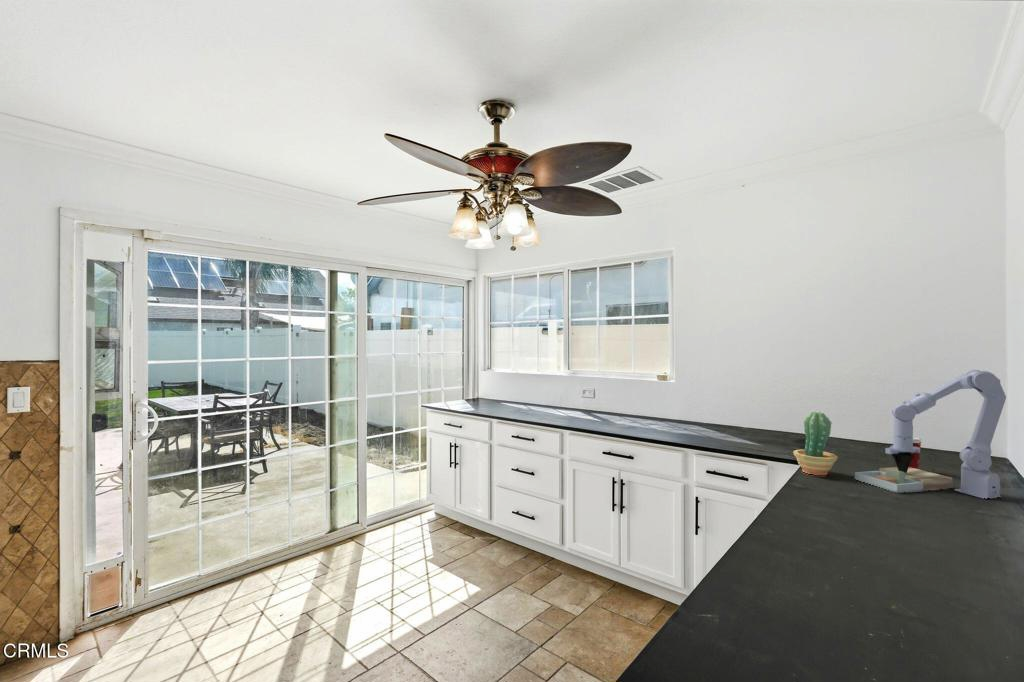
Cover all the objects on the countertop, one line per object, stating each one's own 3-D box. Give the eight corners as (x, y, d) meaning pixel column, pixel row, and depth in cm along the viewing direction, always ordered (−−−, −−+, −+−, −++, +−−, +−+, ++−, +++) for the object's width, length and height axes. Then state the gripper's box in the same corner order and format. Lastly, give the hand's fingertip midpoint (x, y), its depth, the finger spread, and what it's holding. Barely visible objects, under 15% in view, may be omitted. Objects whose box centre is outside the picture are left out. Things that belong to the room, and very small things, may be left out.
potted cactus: (847, 479, 183) (847, 415, 183) (807, 478, 183) (808, 415, 183) (821, 468, 199) (822, 409, 199) (785, 467, 199) (785, 409, 199)
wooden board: (952, 488, 172) (952, 477, 172) (923, 491, 169) (923, 480, 169) (906, 476, 188) (906, 466, 188) (879, 478, 185) (879, 468, 185)
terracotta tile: (886, 479, 172) (886, 486, 172) (897, 479, 173) (897, 485, 173) (873, 475, 177) (873, 482, 177) (883, 475, 178) (883, 481, 178)
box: (923, 491, 169) (923, 482, 169) (897, 493, 166) (897, 484, 166) (879, 478, 185) (879, 470, 185) (854, 480, 182) (854, 472, 182)
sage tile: (904, 472, 174) (899, 472, 173) (904, 485, 174) (899, 485, 173) (890, 468, 179) (885, 468, 178) (890, 481, 179) (885, 481, 178)
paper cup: (926, 473, 192) (927, 439, 192) (907, 473, 192) (908, 439, 192) (910, 468, 200) (911, 435, 200) (892, 468, 200) (892, 435, 200)
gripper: (906, 433, 183) (906, 468, 183) (877, 434, 179) (877, 470, 179) (926, 437, 176) (926, 473, 176) (896, 438, 173) (896, 475, 173)
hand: (902, 472), depth 177 cm, fingers closed
